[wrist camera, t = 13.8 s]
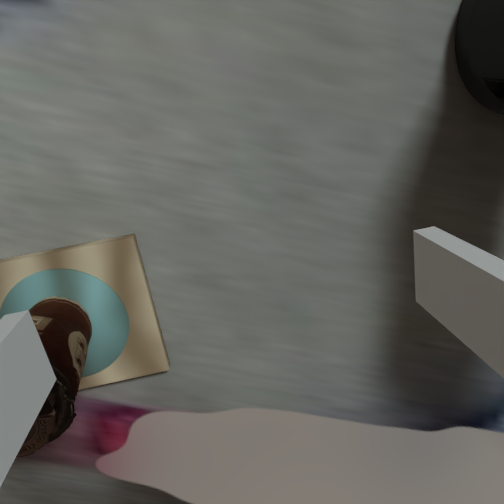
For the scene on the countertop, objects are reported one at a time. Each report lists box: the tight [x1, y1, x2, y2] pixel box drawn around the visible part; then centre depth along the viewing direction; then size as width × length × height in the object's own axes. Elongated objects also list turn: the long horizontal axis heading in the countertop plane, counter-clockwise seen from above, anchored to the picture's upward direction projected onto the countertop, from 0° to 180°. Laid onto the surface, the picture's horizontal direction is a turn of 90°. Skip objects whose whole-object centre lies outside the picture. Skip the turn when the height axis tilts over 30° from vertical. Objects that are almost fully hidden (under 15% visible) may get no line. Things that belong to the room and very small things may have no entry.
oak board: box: [0, 234, 170, 390], centre depth 41 cm, size 17×15×1 cm
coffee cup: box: [16, 296, 92, 457], centre depth 34 cm, size 9×8×13 cm
